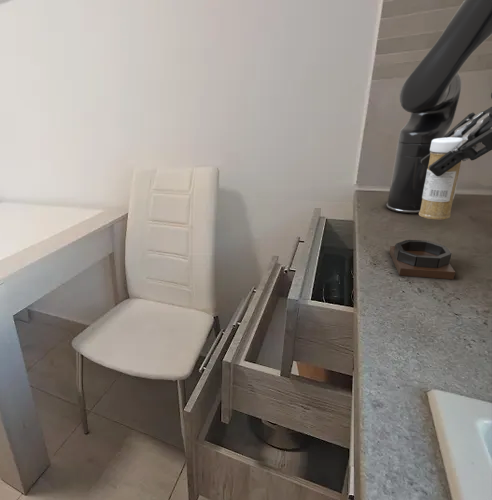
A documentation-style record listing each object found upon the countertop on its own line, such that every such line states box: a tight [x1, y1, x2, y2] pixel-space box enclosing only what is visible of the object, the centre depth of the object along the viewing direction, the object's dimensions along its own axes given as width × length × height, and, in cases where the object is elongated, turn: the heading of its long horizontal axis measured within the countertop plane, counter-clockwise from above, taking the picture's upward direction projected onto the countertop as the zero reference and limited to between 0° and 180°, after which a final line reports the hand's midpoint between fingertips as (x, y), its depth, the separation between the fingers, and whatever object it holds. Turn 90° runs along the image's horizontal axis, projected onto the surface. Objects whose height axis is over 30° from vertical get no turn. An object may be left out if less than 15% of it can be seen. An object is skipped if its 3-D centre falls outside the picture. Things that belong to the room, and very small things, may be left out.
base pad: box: [389, 239, 456, 280], centre depth 69 cm, size 10×8×4 cm
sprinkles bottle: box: [418, 137, 462, 221], centre depth 63 cm, size 5×5×14 cm
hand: (428, 168), depth 63 cm, fingers closed on sprinkles bottle, 4 cm apart
